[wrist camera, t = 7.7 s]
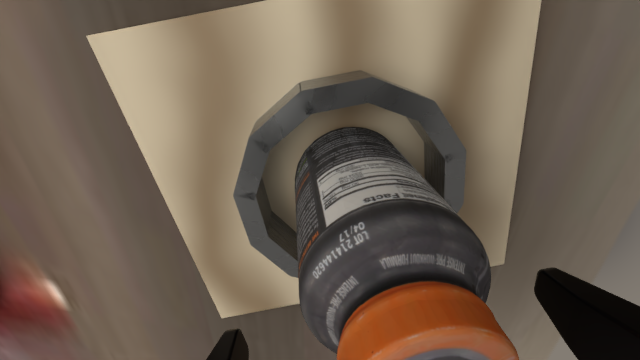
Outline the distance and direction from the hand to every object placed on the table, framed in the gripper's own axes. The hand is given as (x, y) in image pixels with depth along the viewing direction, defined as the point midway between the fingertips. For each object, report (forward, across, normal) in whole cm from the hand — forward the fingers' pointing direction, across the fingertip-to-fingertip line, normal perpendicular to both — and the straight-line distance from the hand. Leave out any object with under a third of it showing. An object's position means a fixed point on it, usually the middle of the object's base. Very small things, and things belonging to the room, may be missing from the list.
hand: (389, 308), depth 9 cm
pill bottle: (+9, 0, 0) cm, 9 cm away
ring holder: (+10, 0, 0) cm, 10 cm away
